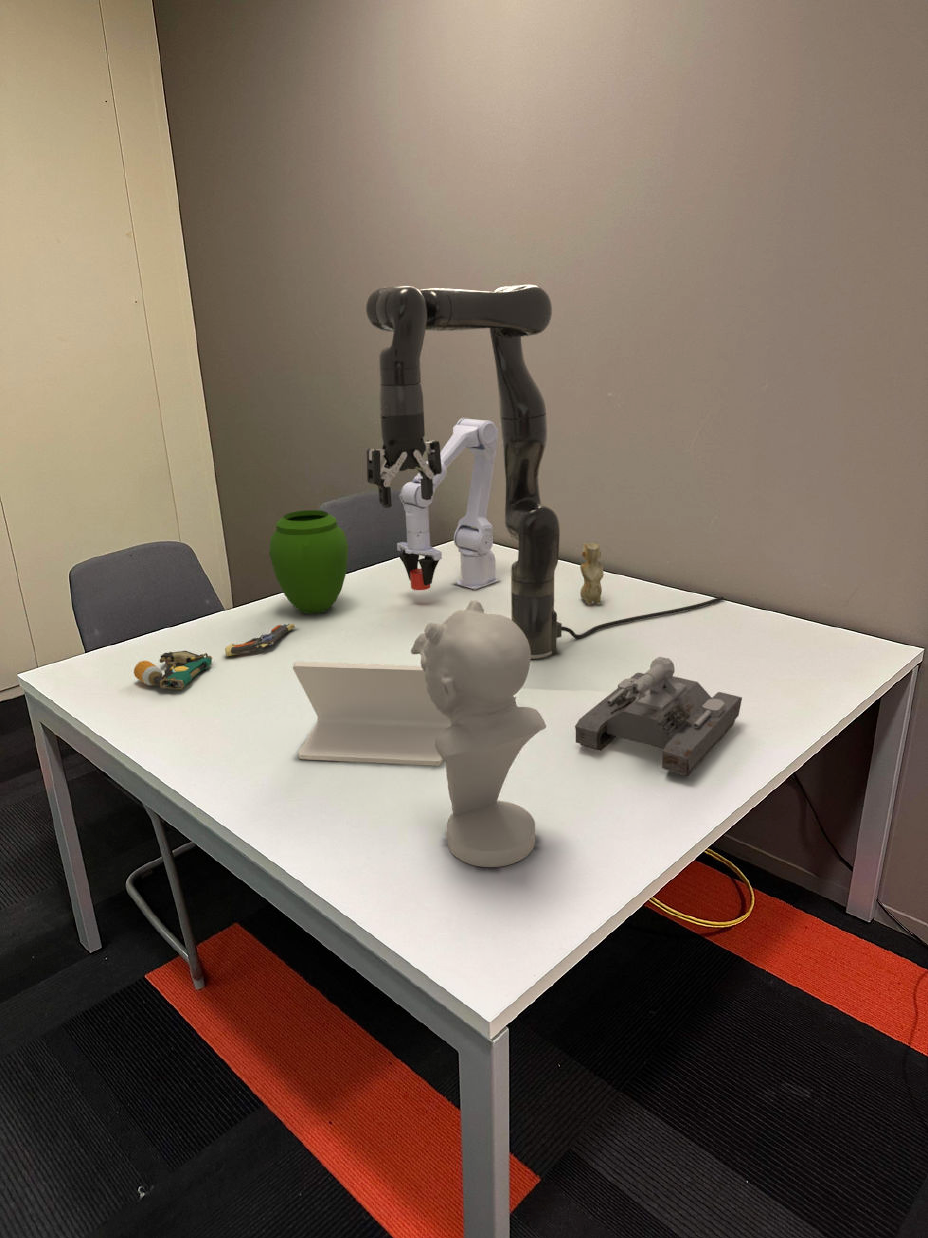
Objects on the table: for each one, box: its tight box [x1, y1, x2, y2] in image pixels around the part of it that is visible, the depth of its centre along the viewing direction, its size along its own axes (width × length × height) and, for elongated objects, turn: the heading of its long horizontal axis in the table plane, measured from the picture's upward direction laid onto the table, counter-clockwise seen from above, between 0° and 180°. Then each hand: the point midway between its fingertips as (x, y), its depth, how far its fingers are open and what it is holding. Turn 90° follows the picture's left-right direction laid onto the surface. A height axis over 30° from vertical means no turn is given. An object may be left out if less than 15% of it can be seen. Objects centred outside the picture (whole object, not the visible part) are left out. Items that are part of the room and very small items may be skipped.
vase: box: [268, 509, 349, 615], centre depth 213 cm, size 20×20×24 cm
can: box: [410, 568, 431, 591], centre depth 218 cm, size 5×5×4 cm
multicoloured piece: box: [133, 650, 213, 690], centre depth 180 cm, size 4×17×15 cm
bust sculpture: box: [410, 599, 547, 868], centre depth 121 cm, size 16×24×35 cm
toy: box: [574, 656, 743, 777], centre depth 148 cm, size 25×20×15 cm
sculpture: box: [579, 542, 604, 605], centre depth 214 cm, size 6×7×15 cm
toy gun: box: [224, 623, 296, 657], centre depth 196 cm, size 3×19×10 cm
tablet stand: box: [292, 661, 451, 766], centre depth 150 cm, size 18×25×17 cm
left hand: (420, 582), depth 218 cm, fingers closed on can, 5 cm apart
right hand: (406, 503), depth 153 cm, fingers open, 8 cm apart
